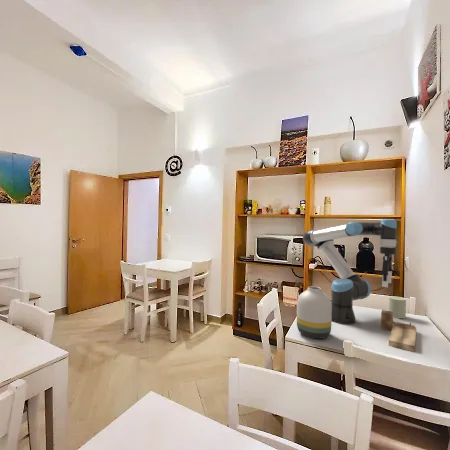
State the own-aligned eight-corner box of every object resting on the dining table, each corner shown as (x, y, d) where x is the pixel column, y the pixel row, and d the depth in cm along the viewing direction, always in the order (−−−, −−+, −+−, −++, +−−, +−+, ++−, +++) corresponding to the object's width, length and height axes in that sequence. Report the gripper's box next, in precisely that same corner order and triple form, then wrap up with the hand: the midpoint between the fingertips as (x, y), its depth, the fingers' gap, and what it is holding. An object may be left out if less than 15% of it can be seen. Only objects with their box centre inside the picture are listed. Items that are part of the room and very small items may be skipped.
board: (388, 345, 124) (388, 339, 124) (393, 327, 147) (393, 322, 147) (414, 351, 118) (414, 345, 118) (416, 331, 141) (416, 327, 141)
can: (405, 315, 166) (405, 296, 165) (406, 320, 158) (406, 300, 158) (388, 313, 170) (388, 294, 170) (388, 317, 163) (388, 297, 163)
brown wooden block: (380, 328, 145) (381, 312, 144) (382, 325, 149) (382, 309, 148) (414, 335, 136) (414, 318, 136) (414, 332, 140) (415, 315, 140)
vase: (331, 344, 124) (332, 293, 124) (294, 338, 130) (295, 289, 130) (330, 330, 140) (331, 285, 140) (297, 326, 146) (298, 282, 146)
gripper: (393, 248, 135) (391, 290, 135) (398, 245, 154) (397, 282, 154) (376, 247, 139) (375, 287, 140) (383, 245, 159) (382, 280, 159)
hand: (386, 284), depth 147 cm, fingers open, 13 cm apart
